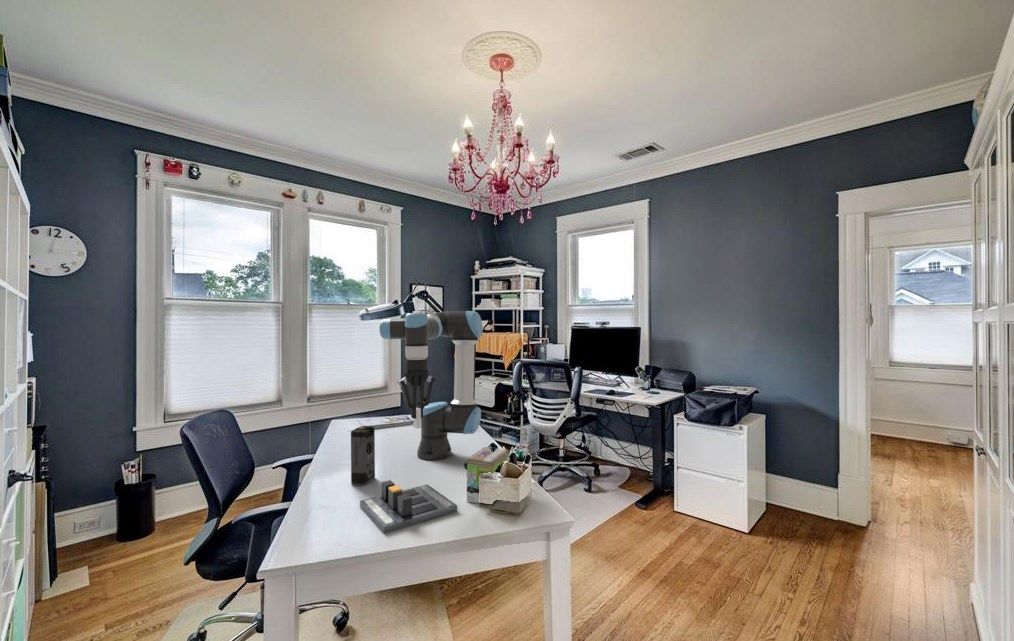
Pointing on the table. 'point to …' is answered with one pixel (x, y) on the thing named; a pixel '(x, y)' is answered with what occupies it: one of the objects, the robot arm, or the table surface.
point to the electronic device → (362, 455)
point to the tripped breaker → (394, 496)
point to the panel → (409, 519)
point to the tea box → (482, 469)
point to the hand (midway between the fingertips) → (417, 427)
